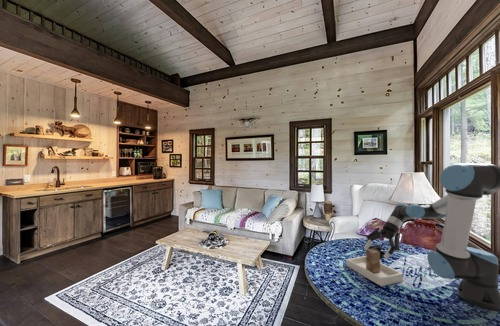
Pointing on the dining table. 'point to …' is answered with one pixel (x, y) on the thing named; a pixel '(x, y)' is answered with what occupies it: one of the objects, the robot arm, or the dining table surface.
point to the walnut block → (373, 260)
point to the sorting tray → (382, 278)
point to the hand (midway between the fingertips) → (374, 253)
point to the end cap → (378, 249)
